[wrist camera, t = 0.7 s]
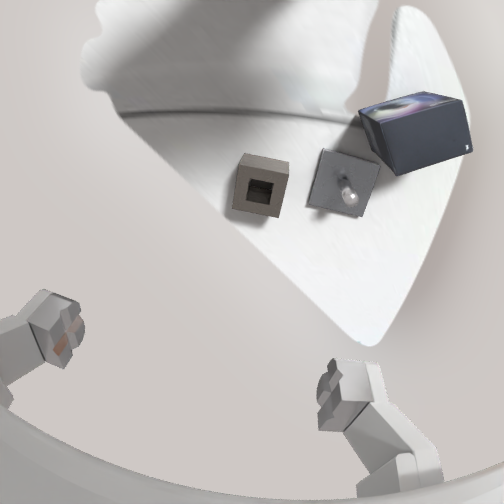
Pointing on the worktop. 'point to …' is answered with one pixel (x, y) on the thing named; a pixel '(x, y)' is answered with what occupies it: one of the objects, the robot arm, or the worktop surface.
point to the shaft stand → (343, 183)
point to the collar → (259, 197)
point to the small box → (417, 131)
